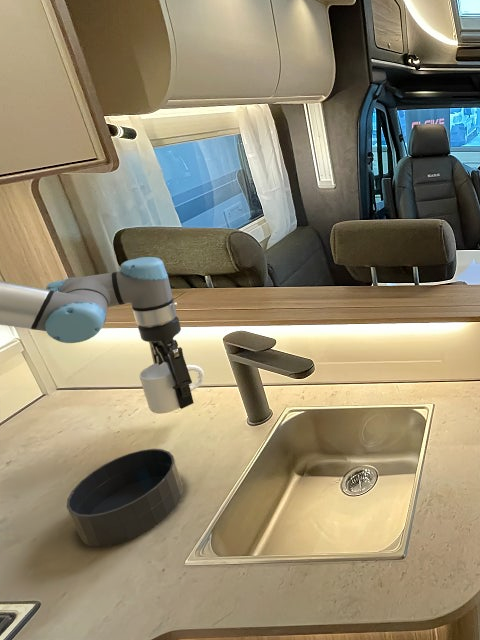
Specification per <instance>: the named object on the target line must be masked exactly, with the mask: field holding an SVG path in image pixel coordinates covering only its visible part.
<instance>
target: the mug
mask: <svg viewBox="0 0 480 640" xmlns="http://www.w3.org/2000/svg"><path fill="white" fill-rule="evenodd" d="M186 366H187V369H188V372H190V371H191V372H195V374H196V375H197V378H196V381H195V382H194V383H193V384H190V385H189V386H190V390H191V392H192V391H194V390H196V389H198V388H199V387H200V386H201V385H202V384H203V382H204V378H205V372H204V370H203V369H202V368H201V367H200V366H198V365H196V364H186ZM138 376H139V380H140V383H141V387H142V390H143V393H144V396H145V397H144V398H145V400H146V403H147V406H148V409H149V410H150V412H152V413H154V414H167V413H171V412H174V411H177V410H179V409H181V408H180V406H179V402H178V399H177V395H176V391H175V389H173V388H172V387H173V386H175V383H174V380H173V378H172V374H171V373H170V371H169V368H168V366H167V363H166V362H163V363H162V364H161V365H159V364H158V363H156V364H154V363H153V364H151V365H149V366H146V367H145V368H144V369H142V370H141V372H139V375H138Z"/></svg>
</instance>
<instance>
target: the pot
mask: <svg viewBox="0 0 480 640" xmlns="http://www.w3.org/2000/svg"><path fill="white" fill-rule="evenodd" d="M183 493H184V486H183V482H182V478H181V475H180V472H179V469H178V467H177V463H176V460H175V457H174V455H173V454H172V453H171V452H170V451H168V450H165V449H162V448H148V449H141V450H136V451H133V452H130V453H127V454H125V455H121V456H118V457H116V458H114V459H112V460H111V461H109V462H106V463H104V464H103V465H101V466H99V467H98V468H96V469H95V470H93V471H92V472H90V473H89V474H87V476H85V477H84V478H83V479H82V480H80V481H79V482H78V483H77V485H76V486H75V487H74V488H73V489H72V490H71V492H70V493H69V495H68V497H67V499H66V509H67V511H68V513H69V516H70V518H71V520H72V522H73V525H74V527H75V529H76V531H77V533H78V536H79V538H80V540H81V541H82V543H83V544H85V545H86V546H89V547H93V548H105V547H111V546H117V545H119V544H123V543H125V542H128V541H131V540H133V539H135V538H138V537H140V536H141V535H142V534H145V533H146V532H148V531H150V530H151V529H153V528H154V527H156V526H157V525H158V524H159V523H161V522H162V521H163V520H164V519H166V518H167V517H168V516H169V515H170V513H172V512H173V510H174V509H175V508H176V507H177V505H178V504H179V502H180V500H181V498H182V496H183Z"/></svg>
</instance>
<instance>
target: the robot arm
mask: <svg viewBox="0 0 480 640" xmlns="http://www.w3.org/2000/svg"><path fill="white" fill-rule="evenodd" d="M126 304H131V308H132V313H133V317H134V320H135V323H136V325H137V326H138V327H137V328H138V329H137V330H138V332H139V336H140V338H141V340H142V341H143V342H147V343H148V344H149V349H150V352H151V358H152V362H153V364H156V363H158V364H159V365H161V364H162V363H163V362H166V363H167V366H168V368H169V371H170V373H171V374H172V378H173V380H174V383H175V386H173V387H172V388H173V389H175V391H176V395H177V399H178V402H179V406H180V408H179V409H180V410H182V409H184V408H187V407H190V406H191V405H194V404H195V402H194V398H193V394H192V391H191V390H190V386H191V385H192V383H193V380H192V378H191V375H190V373H189V372H190V371H188V369H187V366H186V365H187V363H186V360H185V357H184V353H183V348H182V347H181V346H179V344H178V342H177V340H176V339H174V338H175V336H177V335H179V333H180V332H181V330H182V327H181V322H180V319H179V317H178V313H177V309H176V307H177V306H178V302H177V301H174V296H173V292H172V288H171V284H170V279H169V274H168V273H167V270H166V267H165V263H164V261H163V260H162V259H161V258H159V257H153V256H143V257H142V256H141V257H136V258H133V259H132V258H131V259H129V260H125V261H123V262H121V264H120V270H118V271H114V272H107V273H100V274H93V275H86V276H79V277H68V278H65V279H60V280H55V281H51V282H49V283H48V284H47V285H46V288H41V287H36V286H31V285H25V284H20V283H14V282H9V281H4V280H0V326H6V327H14V328H21V329H27V330H28V329H29V330H35V331H41V332H46V333H47V335H48V336H49V337H50V338H52V339H53V340H55V341H57V342H60V343H64V344H76V343H82V342H85V341H88V340H90V339H92V338H94V337H95V336H96V335H98V333H100V330H102V328H103V326H104V325H105V324H106V321H107V313H108V309H109V308H113V307H118V306H123V305H126Z"/></svg>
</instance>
